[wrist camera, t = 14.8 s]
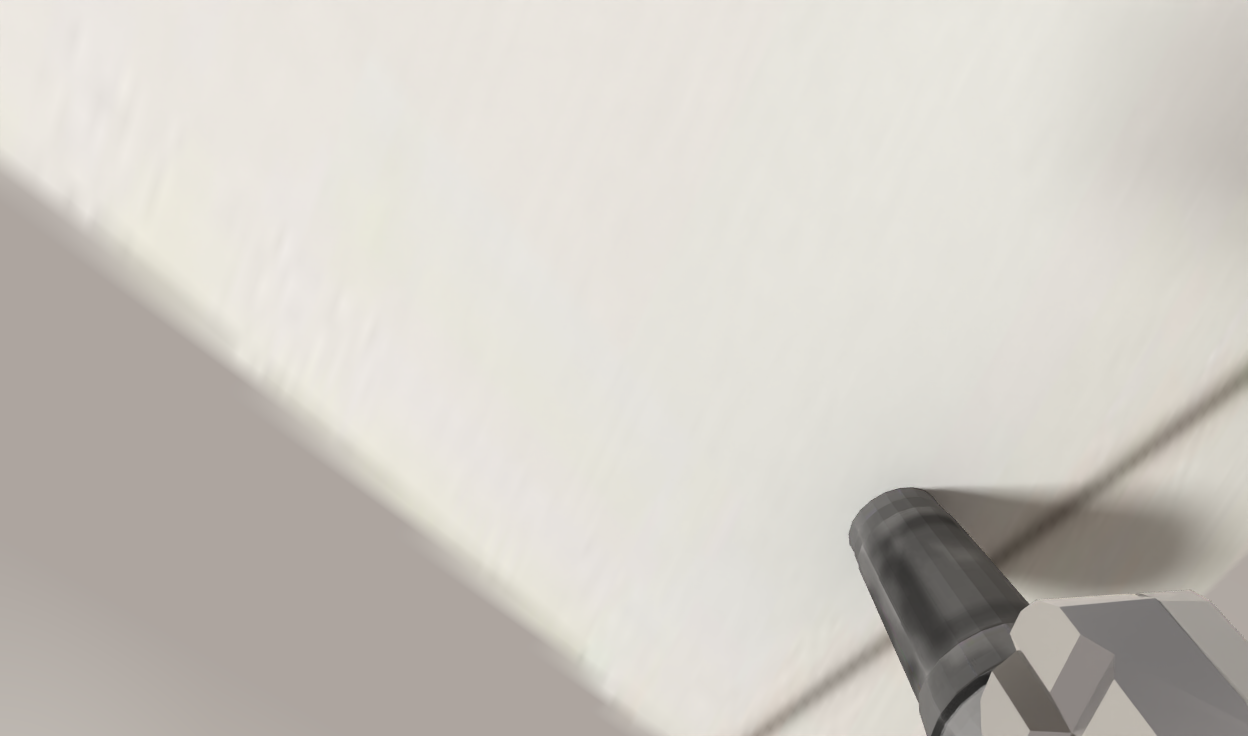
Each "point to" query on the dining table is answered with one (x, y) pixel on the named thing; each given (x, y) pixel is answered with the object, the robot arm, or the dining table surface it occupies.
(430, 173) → the dining table surface
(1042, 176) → the dining table surface
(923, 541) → the beverage cup
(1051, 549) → the dining table surface
